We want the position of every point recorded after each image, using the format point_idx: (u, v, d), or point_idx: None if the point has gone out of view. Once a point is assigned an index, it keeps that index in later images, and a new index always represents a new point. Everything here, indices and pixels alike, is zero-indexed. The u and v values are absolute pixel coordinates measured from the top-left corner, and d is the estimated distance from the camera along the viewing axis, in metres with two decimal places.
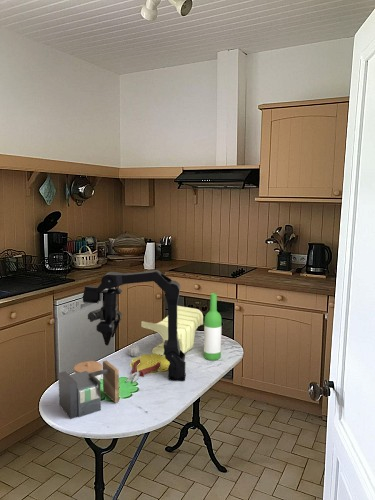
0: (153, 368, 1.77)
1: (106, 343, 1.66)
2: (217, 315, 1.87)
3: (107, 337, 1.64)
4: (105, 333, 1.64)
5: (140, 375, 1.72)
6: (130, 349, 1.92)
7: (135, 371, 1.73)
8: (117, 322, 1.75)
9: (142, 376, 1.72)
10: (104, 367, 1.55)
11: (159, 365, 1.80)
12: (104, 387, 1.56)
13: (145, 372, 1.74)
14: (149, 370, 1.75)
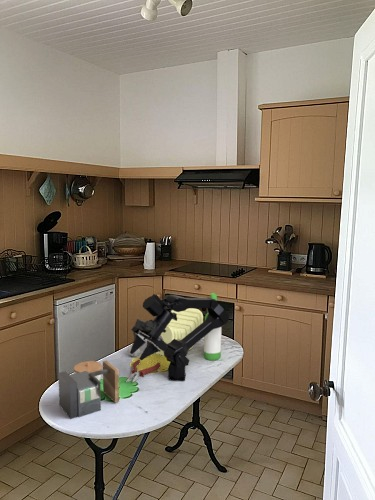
0: (153, 368, 1.77)
1: (142, 357, 1.55)
2: None
3: (148, 353, 1.56)
4: (149, 348, 1.56)
5: (140, 375, 1.72)
6: (130, 349, 1.92)
7: (135, 371, 1.73)
8: (143, 342, 1.65)
9: (142, 376, 1.72)
10: (104, 367, 1.55)
11: (159, 365, 1.80)
12: (104, 387, 1.56)
13: (145, 372, 1.74)
14: (149, 370, 1.75)
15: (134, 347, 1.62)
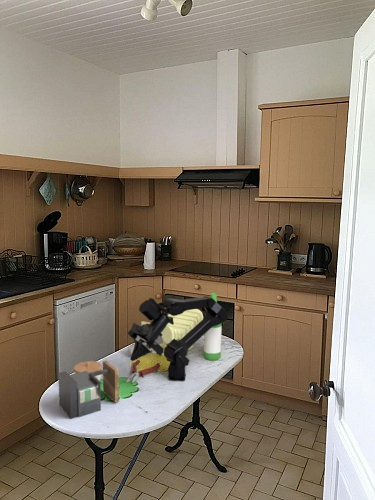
0: (153, 368, 1.76)
1: (133, 359, 1.57)
2: None
3: (139, 354, 1.58)
4: (141, 349, 1.58)
5: (140, 375, 1.72)
6: (130, 349, 1.92)
7: (135, 371, 1.72)
8: None
9: (142, 376, 1.72)
10: (104, 367, 1.55)
11: (159, 365, 1.80)
12: (104, 387, 1.56)
13: (145, 372, 1.73)
14: (149, 370, 1.75)
15: None
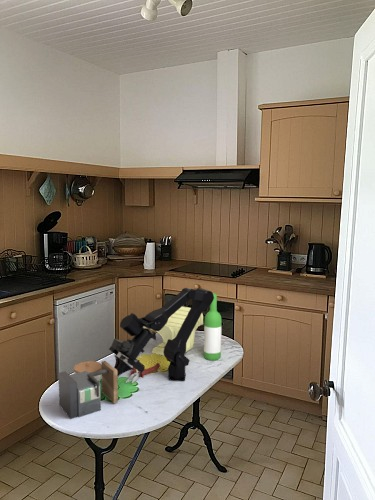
0: (152, 369, 1.76)
1: None
2: (217, 315, 1.87)
3: (120, 371, 1.54)
4: (122, 366, 1.54)
5: (139, 376, 1.71)
6: None
7: (134, 372, 1.72)
8: None
9: None
10: (103, 367, 1.55)
11: (158, 366, 1.80)
12: (103, 387, 1.56)
13: (144, 373, 1.73)
14: (148, 371, 1.75)
15: None
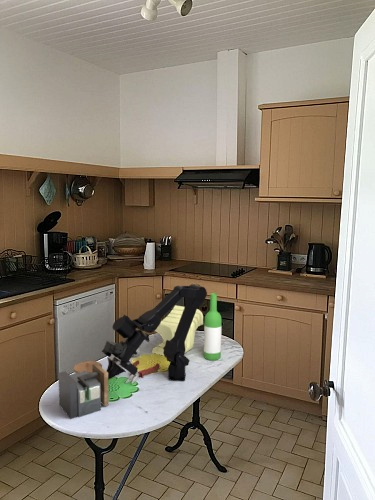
0: (152, 369, 1.76)
1: None
2: (217, 315, 1.87)
3: (113, 373, 1.52)
4: (115, 369, 1.52)
5: (139, 376, 1.71)
6: None
7: None
8: None
9: (141, 377, 1.71)
10: (94, 370, 1.53)
11: (158, 366, 1.80)
12: None
13: (144, 373, 1.73)
14: (148, 371, 1.74)
15: (108, 373, 1.52)
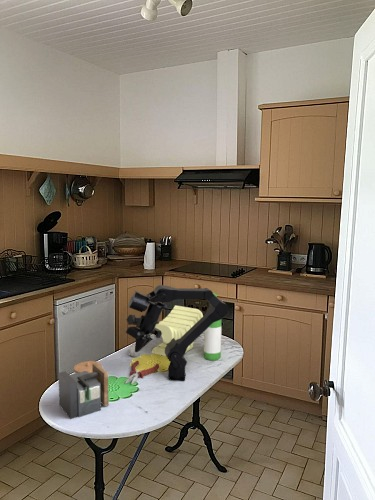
0: (152, 369, 1.75)
1: (136, 350, 1.65)
2: None
3: (138, 344, 1.64)
4: (139, 339, 1.65)
5: (139, 377, 1.71)
6: (130, 349, 1.92)
7: (134, 372, 1.71)
8: None
9: None
10: (94, 370, 1.53)
11: (158, 366, 1.79)
12: None
13: (144, 374, 1.72)
14: (148, 371, 1.74)
15: None
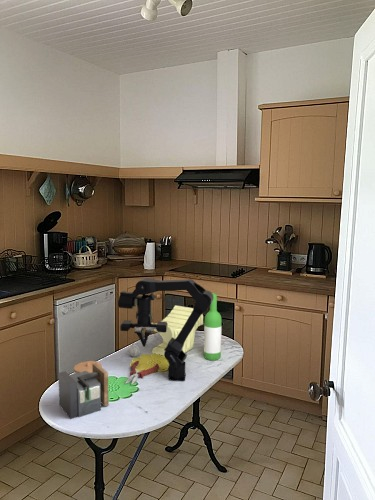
0: (152, 370, 1.75)
1: None
2: (217, 315, 1.87)
3: None
4: None
5: (139, 377, 1.71)
6: (130, 349, 1.92)
7: (134, 373, 1.71)
8: None
9: (141, 378, 1.70)
10: (94, 370, 1.53)
11: (158, 367, 1.79)
12: None
13: (144, 374, 1.72)
14: (148, 372, 1.74)
15: None
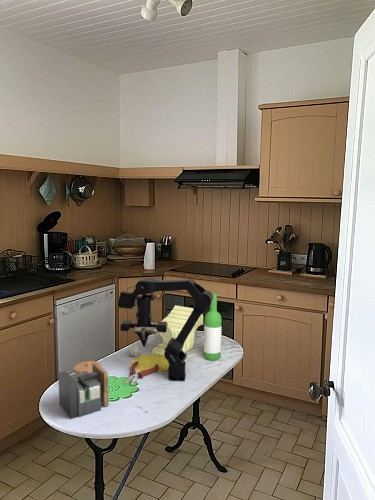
0: (152, 370, 1.75)
1: None
2: (217, 315, 1.87)
3: None
4: None
5: (139, 377, 1.70)
6: (130, 349, 1.92)
7: (133, 373, 1.71)
8: None
9: (141, 378, 1.70)
10: (94, 370, 1.53)
11: (158, 367, 1.79)
12: None
13: (144, 374, 1.72)
14: (148, 372, 1.73)
15: None
